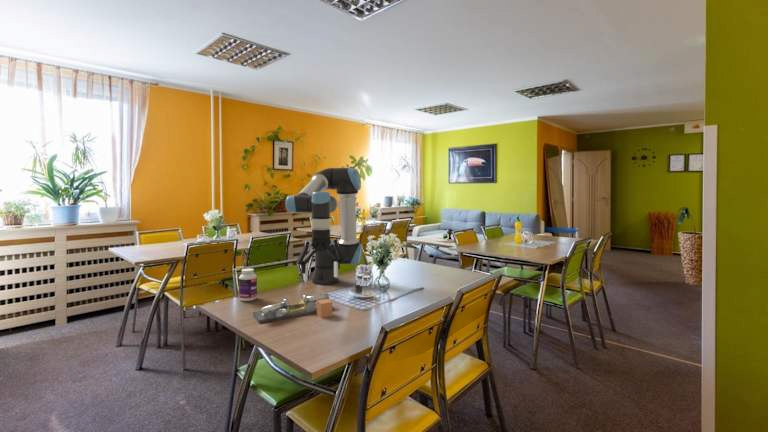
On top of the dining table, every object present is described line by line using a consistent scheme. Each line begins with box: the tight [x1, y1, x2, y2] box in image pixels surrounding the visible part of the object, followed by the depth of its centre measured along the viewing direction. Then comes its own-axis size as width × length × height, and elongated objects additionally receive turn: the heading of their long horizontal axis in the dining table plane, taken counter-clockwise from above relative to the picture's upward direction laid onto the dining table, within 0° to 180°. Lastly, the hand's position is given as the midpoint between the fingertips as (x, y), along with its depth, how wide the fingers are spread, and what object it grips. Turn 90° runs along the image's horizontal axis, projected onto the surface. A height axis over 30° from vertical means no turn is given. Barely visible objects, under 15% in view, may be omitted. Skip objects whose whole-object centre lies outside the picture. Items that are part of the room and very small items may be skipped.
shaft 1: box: [259, 298, 290, 319], centre depth 151 cm, size 11×5×6 cm, turn 142°
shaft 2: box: [301, 293, 330, 306], centre depth 163 cm, size 11×5×6 cm, turn 122°
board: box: [252, 298, 335, 324], centre depth 158 cm, size 32×11×4 cm, turn 122°
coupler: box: [316, 298, 333, 319], centre depth 156 cm, size 5×5×6 cm
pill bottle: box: [238, 268, 258, 302], centre depth 176 cm, size 8×8×14 cm
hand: (321, 279), depth 155 cm, fingers open, 13 cm apart
